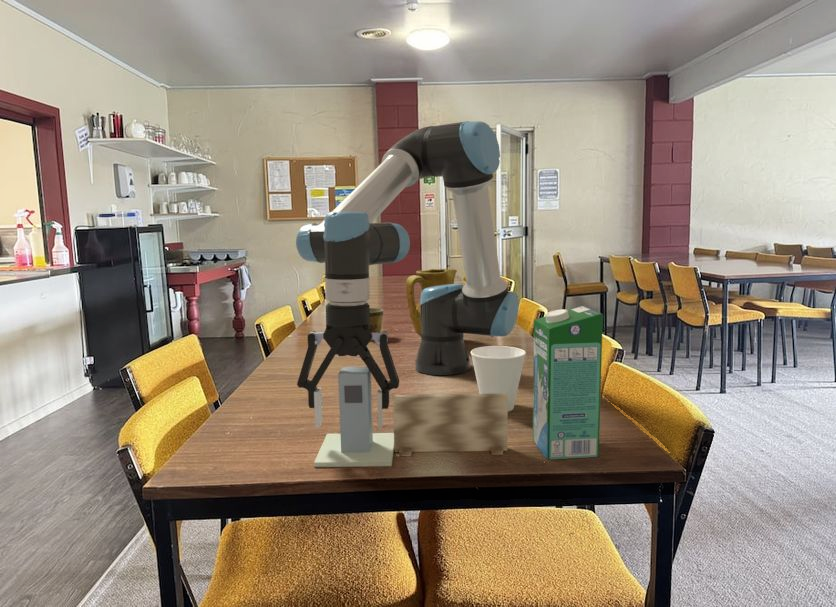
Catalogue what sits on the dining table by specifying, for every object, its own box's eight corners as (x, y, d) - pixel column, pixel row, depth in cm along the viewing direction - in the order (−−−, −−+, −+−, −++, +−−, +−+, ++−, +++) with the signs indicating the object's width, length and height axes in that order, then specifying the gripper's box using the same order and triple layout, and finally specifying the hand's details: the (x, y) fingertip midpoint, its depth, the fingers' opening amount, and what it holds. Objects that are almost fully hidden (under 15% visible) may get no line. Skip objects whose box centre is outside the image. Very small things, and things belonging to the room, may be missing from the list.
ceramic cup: (389, 336, 202) (388, 308, 200) (375, 342, 193) (374, 313, 191) (357, 334, 207) (356, 307, 206) (342, 339, 198) (341, 311, 197)
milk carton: (532, 439, 105) (533, 306, 102) (579, 437, 106) (583, 304, 102) (547, 460, 96) (549, 314, 93) (599, 457, 97) (603, 312, 93)
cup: (461, 403, 127) (460, 349, 125) (506, 396, 131) (506, 343, 130) (488, 419, 116) (488, 360, 114) (536, 411, 121) (537, 354, 119)
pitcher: (468, 347, 180) (463, 268, 178) (410, 351, 181) (404, 273, 178) (464, 338, 197) (460, 266, 195) (411, 341, 198) (406, 270, 195)
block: (345, 441, 104) (342, 366, 102) (372, 441, 104) (370, 366, 102) (341, 452, 99) (337, 374, 97) (369, 452, 99) (367, 374, 97)
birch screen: (393, 456, 99) (392, 400, 98) (395, 444, 104) (394, 392, 102) (508, 454, 99) (509, 399, 97) (504, 443, 104) (504, 390, 102)
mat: (314, 467, 95) (313, 462, 95) (327, 437, 108) (327, 433, 108) (391, 466, 95) (391, 461, 95) (395, 436, 108) (395, 432, 108)
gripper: (275, 305, 94) (279, 432, 98) (413, 306, 94) (413, 434, 97) (286, 298, 102) (290, 417, 105) (414, 299, 101) (414, 418, 104)
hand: (349, 425), depth 101 cm, fingers open, 10 cm apart
